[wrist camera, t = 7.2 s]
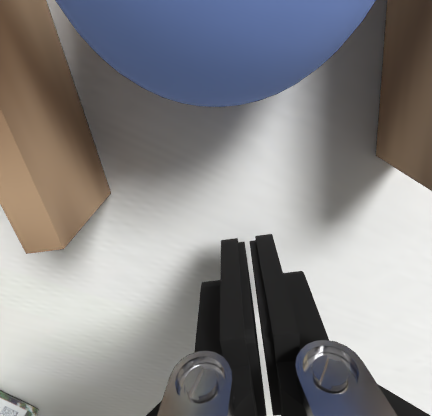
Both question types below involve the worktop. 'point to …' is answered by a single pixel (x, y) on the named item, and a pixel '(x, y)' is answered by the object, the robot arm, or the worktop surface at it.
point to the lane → (84, 145)
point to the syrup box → (15, 407)
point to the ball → (215, 43)
